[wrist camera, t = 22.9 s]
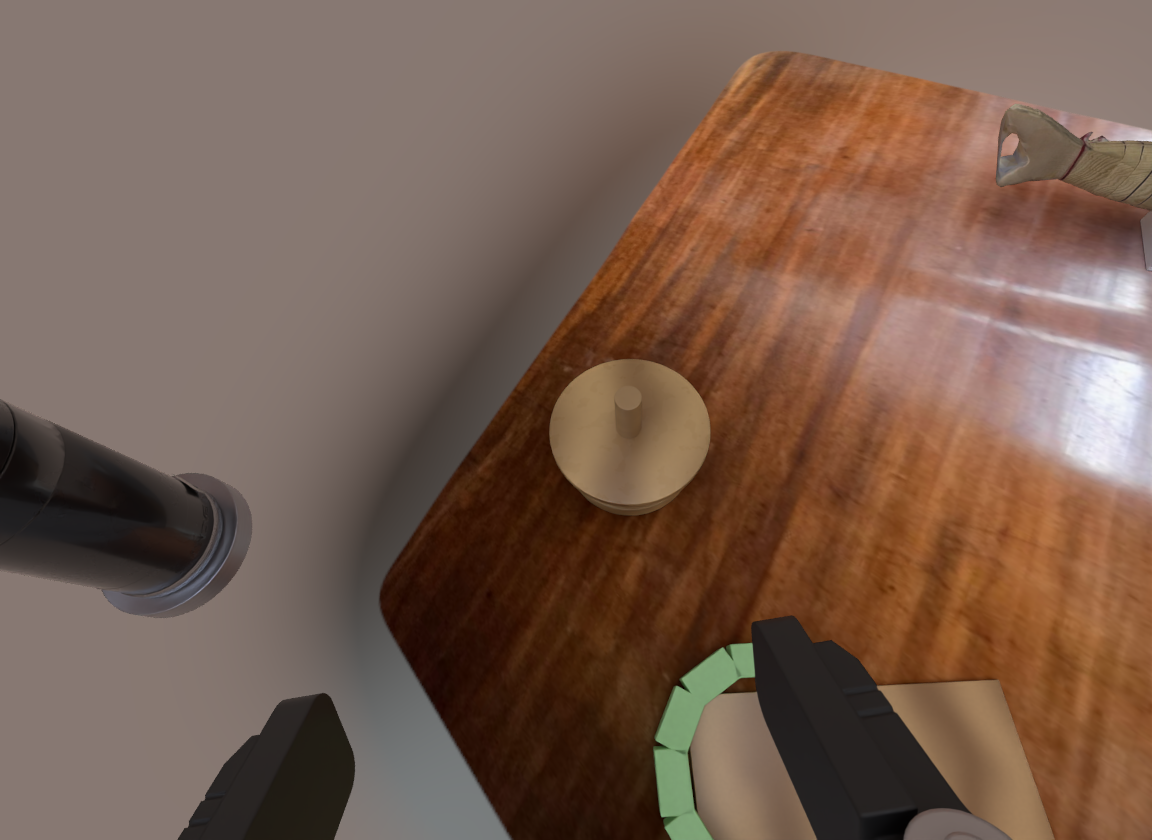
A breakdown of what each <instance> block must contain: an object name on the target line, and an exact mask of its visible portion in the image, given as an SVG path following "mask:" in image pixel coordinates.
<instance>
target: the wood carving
mask: <svg viewBox="0 0 1152 840" xmlns="http://www.w3.org/2000/svg"><path fill="white" fill-rule="evenodd" d="M1011 133H1014V134H1017V136H1018V138H1019V143H1018V146H1017V148H1016V150H1015V152H1014V153H1013V155H1009V156H1002V157H1001V150H1002V143H1003V141H1004V140H1005V138H1006V137H1007V136H1009V135H1010V134H1011ZM1092 133H1093V132H1090V133H1087V134H1086V135H1084V136H1083V137H1081V138H1080V139H1079V138H1077V137H1076V136H1075V135H1073V134H1072V133H1070V132H1069V131H1068V130H1067V129H1066V128H1065V127H1063V126H1062V125H1061V124H1059V123H1058V122H1056V121H1055V120H1054V119H1053V118H1051V117H1050V116H1048V115H1046V114H1045V113H1043V112H1041V111H1040V110H1038V109H1033V108H1031V107H1029V106H1024V105H1020V104H1015V105H1013V106H1011V107H1010V108H1009V109H1008V110H1007V111H1006V112H1005V114H1004V116H1003V118H1002V121H1001V126H1000V132H999V137H998V156H997V171H996V183H997V185H998V186H1000V187H1003V186H1006V185H1014V184H1018V183H1022V182H1026V181H1040V180H1050V179H1059V180H1061V181H1064V182H1066V183H1069V184H1072V185H1074V186H1076V187H1079V188H1081V189H1084V190H1086V191H1088V192H1090V193H1092V194H1094V195H1098V196H1103V197H1105V198H1108V199H1110V200H1114V201H1118V202H1122V203H1126V204H1130V205H1132V206H1135V207H1139V208H1143V209H1147V210H1150V212H1148V213H1147V214H1146V215H1145V216H1144V217H1143V218H1142V219H1141V220H1140V222H1141V230H1142V238H1143V246H1144V254H1145V263H1146V270H1149V271H1152V142H1149V141H1109V140H1107V139H1106V138H1105V137H1103V136H1100V137H1098V138H1096V139H1093V140H1091V141H1090V140H1088V138H1089V137H1090V136H1091V134H1092Z"/></svg>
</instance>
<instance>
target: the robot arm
mask: <svg viewBox="0 0 1152 840" xmlns="http://www.w3.org/2000/svg"><path fill="white" fill-rule="evenodd" d="M174 476H176V475H174ZM176 477H177V478H178V479H180V480H181V481H180V480H178V479H175V478H173V477H171V476H169V475H167V474H165V473H163V472H160V471H158V470H156V469H154V468H152V467H149V466H147V465H145V464H143V463H141V462H138V461H136V460H134V459H132V458H130V457H127V456H125V455H123V454H121V453H119V452H116V451H114V450H112V449H110V448H107V447H105V446H103V445H101V444H99V443H96V442H94V441H92V440H90V439H88V438H85V437H83V436H81V435H79V434H76V433H74V432H72V431H70V430H68V429H65V428H63V427H61V426H59V425H57V424H55V423H52V422H50V421H48V420H45V419H43V418H41V417H39V416H36V415H34V414H32V413H30V412H27V411H25V410H23V409H21V408H19V407H16V406H14V405H12V404H10V403H7V402H5V401H3V400H1V399H0V571H5V572H10V573H16V574H21V575H27V576H32V577H38V578H43V579H49V580H54V581H60V582H65V583H71V584H76V585H82V586H87V587H93V588H97V589H102V590H108V591H114V592H119V593H122V594H125V595H128V596H133V597H139V598H157V597H161V596H165V595H168V594H170V593H172V592H175V591H176V590H178V589H180V588H182V587H183V586H185V585H186V584H188V583H189V582H190V581H192V580H193V579H194V578H195V577H196V576H197V575H198V574H199V573H200V572H201V571H202V570H203V569H204V568H205V566H206V565H207V564H208V562H209V561H210V559H211V558H212V556H213V554H214V552H215V550H216V548H217V546H218V543H219V541H220V537H221V533H222V513H221V509H220V507H219V504H218V503H217V501H216V500H215V498H214V497H213V496H212V495H211V494H210V493H208V492H207V491H205V490H203V489H200V488H198V487H196V486H194V485H191V484H190V483H188V482H187V481H185V480H184V479H182V478H180V477H178V476H176ZM182 481H183V482H182ZM751 631H752V644H753V657H754V670H755V682H756V690H757V695H758V700H759V704H760V707H761V711H762V714H763V717H764V719H765V722H766V724H767V727H768V729H769V731H770V734H771V736H772V738H773V740H774V743H775V745H776V747H777V749H778V752H779V754H780V756H781V759H782V761H783V763H784V765H785V768H786V770H787V772H788V774H789V777H790V779H791V781H792V784H793V786H794V788H795V790H796V793H797V795H798V797H799V799H800V802H801V804H802V806H803V809H804V811H805V813H806V815H807V818H808V820H809V822H810V824H811V827H812V829H813V831H814V833H815V836H816V838H817V840H1013V839H1011V838H1010V837H1009V836H1008V835H1007V834H1006V833H1004V832H1003V831H1001V830H1000V829H999V828H997V827H996V826H994V825H992V824H991V823H989V822H987V821H986V820H984V819H982V818H979V817H977V816H975V815H973V814H972V813H971V812H970V811H969V810H968V809H967V808H966V806H965V805H964V804H963V803H962V802H961V800H960V799H959V798H958V796H957V795H956V794H955V792H954V791H953V790H952V788H951V787H950V785H949V784H948V783H947V781H946V780H945V778H944V777H943V776H942V774H941V773H940V772H939V770H938V769H937V767H936V766H935V765H934V763H933V762H932V761H931V759H930V758H929V756H928V755H927V754H926V752H925V751H924V750H923V748H922V747H921V745H920V744H919V743H918V741H917V740H916V738H915V737H914V736H913V734H912V733H911V732H910V730H909V729H908V727H907V726H906V725H905V723H904V722H903V721H902V719H901V718H900V716H899V715H898V714H897V712H896V713H895V712H894V711H893V707H892V705H891V704H890V703H889V701H888V700H887V698H886V697H885V696H884V694H883V693H882V692H881V690H878V688H877V685H876V683H875V682H874V681H873V679H872V678H871V676H870V675H869V674H868V672H867V671H866V670H865V668H864V667H863V665H862V664H861V663H860V661H859V660H858V659H857V658H855V657H854V656H853V655H851V654H850V653H848V652H847V651H846V650H844V649H843V648H841V647H840V646H839V645H837V644H836V643H834V642H833V641H832V640H830V641H824V642H818V643H812V642H811V640H810V638H809V637H808V635H807V634H806V632H805V631H804V629H803V628H802V626H801V624H800V623H799V621H798V620H797V619H796V618H795V617H794V616H792V615H791V616H785V617H779V618H774V619H768V620H762V621H756V622H753V623H752V626H751ZM354 775H355V761H354V755H353V751H352V748H351V746H350V744H349V741H348V739H347V736H346V733H345V731H344V728H343V726H342V724H341V721H340V719H339V716H338V714H337V711H336V709H335V706H334V704H333V702H332V700H331V698H330V697H329V696H328V695H327V694H325V693H322V694H315V695H309V696H303V697H298V698H292V699H286V700H283V701H281V702H280V703H279V704H278V705H277V706H276V708H275V709H274V711H273V713H272V714H271V716H270V718H269V720H268V721H267V723H266V725H265V726H264V728H263V730H262V732H261V733H260V735H255V736H252V737H250V738H249V739H248V740H247V741H246V743H245V744H244V745H243V746H242V747H241V748H240V749H239V750H238V751H237V752H236V753H235V754H234V755H233V756H232V757H231V758H230V759H229V760H228V761H227V762H226V763H225V764H224V766H223V767H222V769H221V770H220V772H219V774H218V775H217V777H216V778H215V780H214V782H213V783H212V785H211V787H210V788H209V790H208V791H207V793H206V795H205V800H204V801H201V803H200V804H199V806H198V807H197V809H196V811H195V812H194V814H193V816H192V817H191V819H190V821H189V826H188V828H184V830H183V832H182V833H181V835H180V837H179V838H178V840H334V837H335V835H336V832H337V829H338V827H339V824H340V821H341V818H342V816H343V813H344V810H345V807H346V804H347V802H348V799H349V796H350V793H351V790H352V787H353V781H354Z"/></svg>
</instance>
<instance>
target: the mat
mask: <svg viewBox="0 0 1152 840" xmlns="http://www.w3.org/2000/svg"><path fill="white" fill-rule="evenodd" d="M877 688H878V690H881V692H882V693H883V694H884V696H885V697H886V698H887V700H888V701H889V703H890V704H891V705H892V707H893V711H894V712H895V713H896V712H897V714H898V715H899V716H900V718H901V719H902V721H903V722H904V723H905V725H906V726H907V727H908V729H909V730H910V732H911V733H912V734H913V736H914V737H915V738H916V740H917V741H918V743H919V744H920V745H921V747H922V748H923V750H924V751H925V752H926V754H927V755H928V756H929V758H930V759H931V761H932V762H933V763H934V765H935V766H936V767H937V769H938V770H939V772H940V773H941V774H942V776H943V777H944V778H945V780H946V781H947V783H948V784H949V785H950V787H951V788H952V790H953V791H954V792H955V794H956V795H957V796H958V798H959V799H960V800H961V802H962V803H963V804H964V805H965V806H966V808H967V809H968V810H969V811H970V812H971V813H972V814H973V815H975V816H977V817H979V818H982V819H984V820H986V821H987V822H989V823H991V824H992V825H994V826H996V827H997V828H999V829H1000V830H1001V831H1003V832H1004V833H1006V834H1007V835H1008V836H1009V837H1010V838H1011V839H1013V840H1055V838H1054V835H1053V833H1052V830H1051V827H1050V824H1049V821H1048V818H1047V816H1046V813H1045V810H1044V807H1043V804H1042V801H1041V799H1040V796H1039V793H1038V790H1037V787H1036V784H1035V781H1034V779H1033V776H1032V773H1031V770H1030V767H1029V764H1028V762H1027V759H1026V756H1025V753H1024V750H1023V747H1022V745H1021V742H1020V739H1019V736H1018V733H1017V730H1016V728H1015V725H1014V722H1013V719H1012V716H1011V713H1010V710H1009V708H1008V705H1007V702H1006V699H1005V696H1004V693H1003V691H1002V688H1001V685H1000V682H999V680H978V681H959V682H939V683H919V684H900V685H880V686H877ZM689 751H690V759H691V768H692V776H693V784H694V793H695V801H696V810H697V813H698V815H699V816H700V818H701V819H702V821H703V823H704V824H705V826H706V827H707V829H708V831H709V832H710V834H711V835H712V837H713V839H714V840H817V838H816V836H815V833H814V831H813V829H812V827H811V824H810V822H809V820H808V818H807V815H806V813H805V811H804V809H803V806H802V804H801V802H800V799H799V797H798V795H797V793H796V790H795V788H794V786H793V784H792V781H791V779H790V777H789V774H788V772H787V770H786V768H785V765H784V763H783V761H782V759H781V756H780V754H779V752H778V749H777V747H776V745H775V743H774V740H773V738H772V736H771V734H770V731H769V729H768V727H767V724H766V722H765V719H764V717H763V714H762V711H761V707H760V704H759V700H758V695H757V692H742V693H722V694H719V695H718V696H716V697H715V698H714V699H713V700H711V701H710V702H709V703H707V704H706V705H705V706H704V709H703V711H702V714H701V717H700V720H699V723H698V725H697V728H696V731H695V734H694V736H693V739H692V742H691V745H690V747H689Z"/></svg>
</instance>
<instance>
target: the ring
mask: <svg viewBox="0 0 1152 840" xmlns="http://www.w3.org/2000/svg"><path fill="white" fill-rule="evenodd" d="M750 677H755V670H754V657H753V644H752V643H743V644H731V645H728V646H726V651H725V649H724V648H723V647H722V648H720V649H718V650H717V651H715V652H714V653H713V654H711V655H710V656H709V657H707V658H706V659H705V660H703V661H702V662H701V663H699V664H698V665H697V666H695V667H694V668H693V669H692V670H690V671H689V672H688V673H686V674H685V675H684V676H682V677H681V678H680V679H679V680H680V682H681V683H682V685H683V686H684V688H685V689H686V690H684V689H682V688H680V687H679V686H674V687H673V690H672V693H671V695H670V698H669V700H668V703H667V705H666V708H665V711H664V713H663V716H662V718H661V721H660V724H659V726H658V729H657V731H656V734H655V737H654V738H655V740H656V741H657V742H659V743H661V744H663V745H664V746H654V747H653V752H654V761H655V771H656V781H657V791H658V800H659V810H660V815H661V817H666V818H665V819H664V820H663V821H664V826H665V829H666V831H667V833H668V834H669V836H670V838H671V840H714V839H713V837H712V835H711V834H710V832H709V831H708V829H707V827H706V826H705V824H704V823H703V821H702V819H701V818H700V816H699V815H698V813H697V811H696V810H695V808H694V801H693V793H692V785H691V777H690V769H689V761H688V750H689V747H690V745H691V742H692V739H693V736H694V734H695V731H696V728H697V725H698V723H699V720H700V717H701V714H702V711H703V709H704V706H705V705H706V704H707V703H709V702H710V701H711V700H713V699H714V698H715V697H716V696H718V695H719V694H720V693H722V692H723V691H724V690H725V689H727V688H728V687H729V686H731V685H732V684H733V683H734V682H736V681H737V680H738V679H740V678H750Z"/></svg>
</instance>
